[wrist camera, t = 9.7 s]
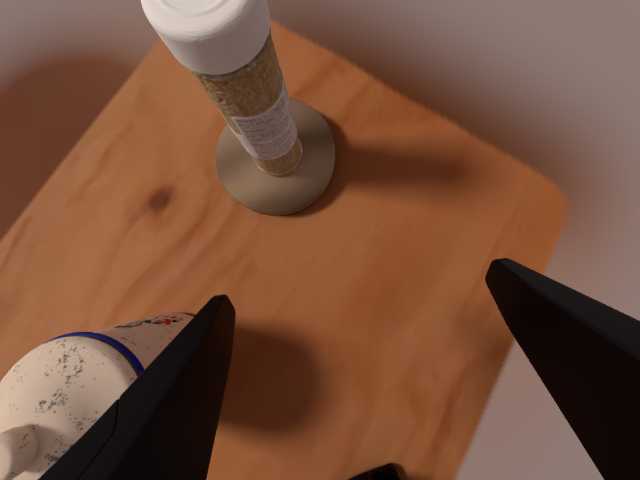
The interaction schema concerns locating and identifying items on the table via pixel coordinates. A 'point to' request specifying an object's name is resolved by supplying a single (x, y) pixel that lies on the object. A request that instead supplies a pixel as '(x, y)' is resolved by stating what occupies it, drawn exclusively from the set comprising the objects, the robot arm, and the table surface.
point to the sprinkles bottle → (235, 71)
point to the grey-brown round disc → (288, 189)
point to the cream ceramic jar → (72, 389)
